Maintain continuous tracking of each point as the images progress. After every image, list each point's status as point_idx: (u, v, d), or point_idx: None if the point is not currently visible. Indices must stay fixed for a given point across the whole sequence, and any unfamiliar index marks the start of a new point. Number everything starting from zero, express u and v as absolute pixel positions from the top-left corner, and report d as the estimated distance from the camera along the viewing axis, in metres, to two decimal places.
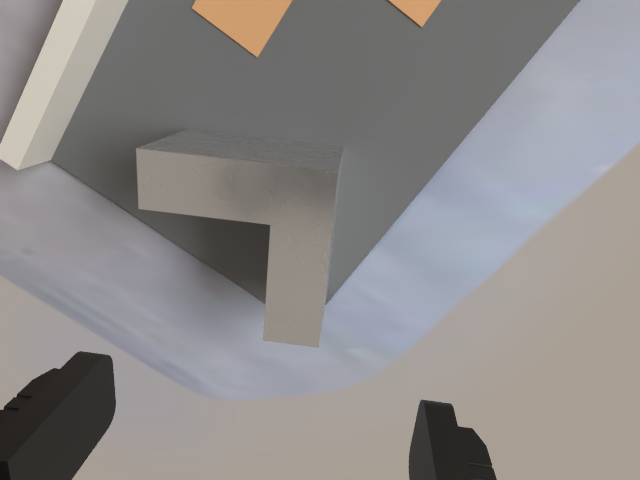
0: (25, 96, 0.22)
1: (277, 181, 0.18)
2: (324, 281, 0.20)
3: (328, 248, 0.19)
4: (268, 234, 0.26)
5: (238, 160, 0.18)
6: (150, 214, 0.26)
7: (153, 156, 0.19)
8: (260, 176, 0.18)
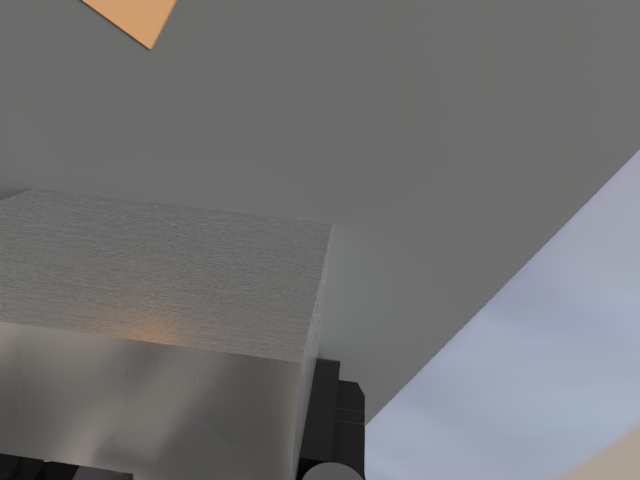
0: None
1: (138, 379, 0.07)
2: None
3: None
4: None
5: (29, 325, 0.07)
6: None
7: None
8: (92, 366, 0.07)
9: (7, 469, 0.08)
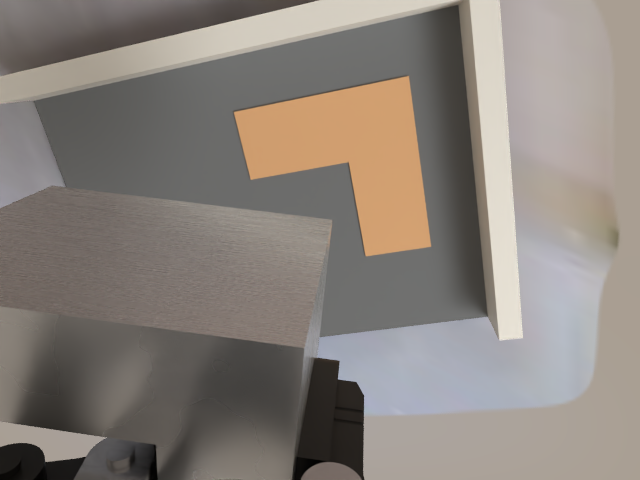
0: (53, 67, 0.23)
1: (161, 362, 0.08)
2: None
3: None
4: None
5: (65, 315, 0.08)
6: None
7: None
8: (121, 351, 0.08)
9: (9, 469, 0.08)
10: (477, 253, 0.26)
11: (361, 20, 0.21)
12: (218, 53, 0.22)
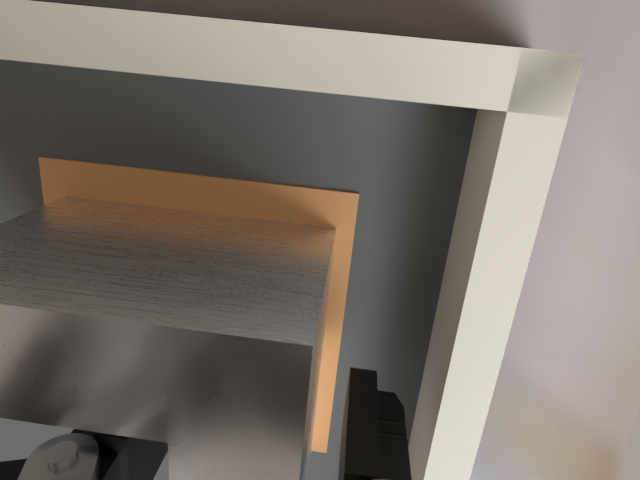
0: None
1: (175, 361, 0.08)
2: None
3: None
4: None
5: (84, 315, 0.08)
6: None
7: None
8: (136, 351, 0.08)
9: None
10: None
11: (282, 86, 0.10)
12: None
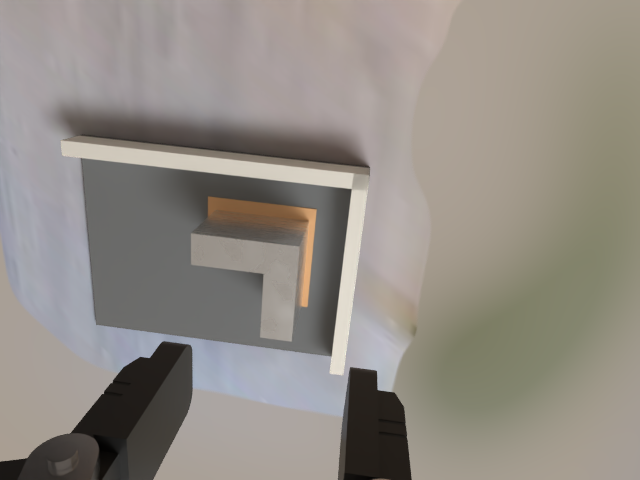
0: (104, 147, 0.36)
1: (267, 251, 0.34)
2: (293, 304, 0.36)
3: (295, 286, 0.35)
4: (130, 282, 0.43)
5: (246, 240, 0.34)
6: (93, 218, 0.41)
7: (200, 237, 0.34)
8: (258, 248, 0.34)
9: None
10: (333, 318, 0.43)
11: (292, 181, 0.36)
12: (207, 171, 0.36)
